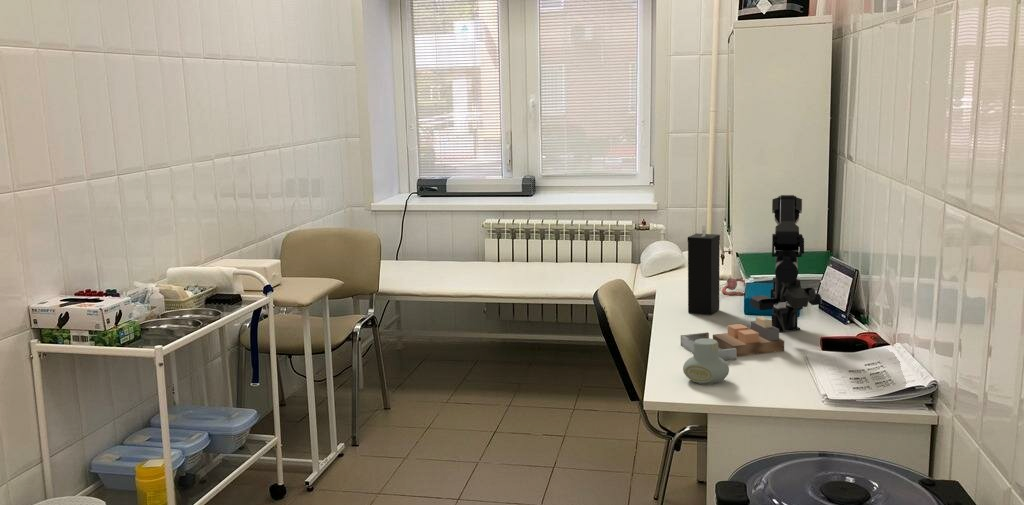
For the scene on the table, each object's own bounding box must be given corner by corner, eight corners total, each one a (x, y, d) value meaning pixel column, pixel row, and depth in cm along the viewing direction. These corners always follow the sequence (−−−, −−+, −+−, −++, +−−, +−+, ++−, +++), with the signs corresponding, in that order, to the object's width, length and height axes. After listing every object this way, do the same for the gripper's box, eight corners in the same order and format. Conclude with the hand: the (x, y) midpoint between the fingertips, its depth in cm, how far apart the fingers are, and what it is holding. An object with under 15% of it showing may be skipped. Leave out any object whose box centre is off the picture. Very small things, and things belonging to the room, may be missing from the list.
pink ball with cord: (753, 268, 302) (736, 279, 280) (762, 291, 302) (747, 304, 280) (700, 287, 312) (680, 299, 290) (709, 309, 312) (690, 324, 290)
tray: (707, 342, 241) (707, 332, 240) (736, 359, 224) (736, 348, 224) (680, 345, 239) (680, 335, 238) (707, 363, 222) (707, 352, 222)
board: (761, 339, 241) (761, 329, 241) (784, 351, 230) (784, 340, 229) (712, 344, 238) (712, 334, 238) (733, 357, 227) (733, 346, 226)
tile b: (751, 338, 233) (751, 329, 232) (758, 342, 229) (758, 333, 228) (737, 339, 232) (738, 330, 231) (745, 343, 228) (745, 334, 228)
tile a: (740, 332, 238) (740, 324, 238) (747, 336, 235) (747, 327, 234) (727, 334, 238) (727, 325, 237) (734, 337, 234) (734, 328, 233)
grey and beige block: (760, 330, 240) (760, 314, 239) (779, 339, 230) (779, 322, 229) (750, 331, 239) (750, 315, 238) (768, 341, 230) (769, 323, 229)
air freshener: (677, 381, 209) (677, 342, 207) (692, 372, 216) (692, 334, 214) (719, 389, 203) (719, 348, 201) (733, 379, 209) (734, 340, 207)
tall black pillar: (719, 310, 276) (720, 224, 271) (711, 315, 270) (711, 228, 265) (696, 307, 280) (696, 223, 275) (687, 313, 274) (687, 226, 269)
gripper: (770, 284, 223) (769, 341, 226) (834, 278, 227) (832, 334, 230) (749, 276, 234) (749, 331, 237) (810, 270, 238) (809, 324, 241)
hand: (785, 330), depth 236 cm, fingers closed
